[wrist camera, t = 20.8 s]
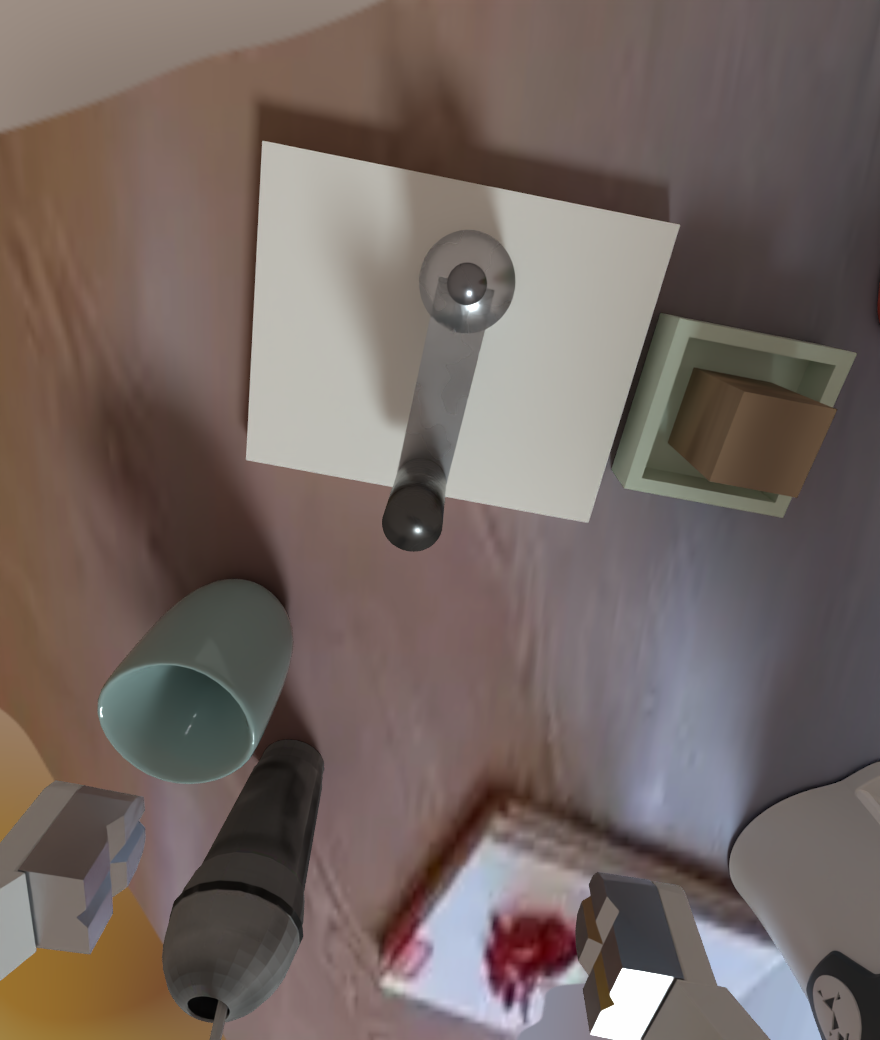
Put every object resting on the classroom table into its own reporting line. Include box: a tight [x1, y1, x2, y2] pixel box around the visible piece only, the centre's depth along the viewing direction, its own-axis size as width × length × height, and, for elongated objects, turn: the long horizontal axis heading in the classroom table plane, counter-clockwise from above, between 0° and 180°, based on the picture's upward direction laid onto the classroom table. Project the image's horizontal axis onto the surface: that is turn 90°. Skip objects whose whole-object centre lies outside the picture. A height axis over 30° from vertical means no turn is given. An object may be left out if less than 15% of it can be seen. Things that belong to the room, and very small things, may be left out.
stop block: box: [668, 368, 837, 498], centre depth 28 cm, size 4×4×6 cm
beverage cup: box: [162, 740, 324, 1040], centre depth 34 cm, size 7×7×20 cm
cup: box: [98, 579, 293, 784], centre depth 34 cm, size 8×8×10 cm
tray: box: [611, 313, 857, 518], centre depth 30 cm, size 8×8×3 cm
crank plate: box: [246, 141, 680, 523], centre depth 30 cm, size 19×15×2 cm
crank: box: [382, 230, 515, 551], centre depth 26 cm, size 12×4×8 cm, turn 167°
